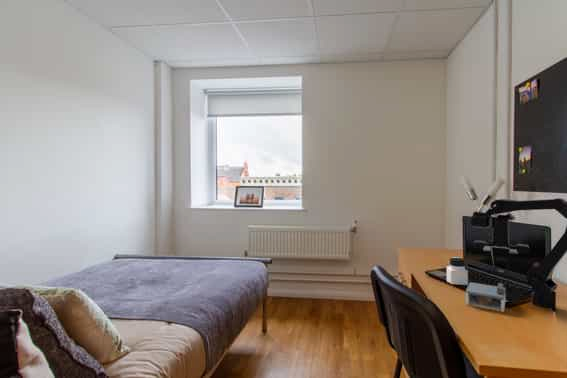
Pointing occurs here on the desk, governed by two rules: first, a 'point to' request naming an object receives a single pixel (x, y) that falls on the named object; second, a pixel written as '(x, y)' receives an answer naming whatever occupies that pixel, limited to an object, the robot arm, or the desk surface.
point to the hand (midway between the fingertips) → (500, 267)
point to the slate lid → (486, 290)
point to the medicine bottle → (457, 271)
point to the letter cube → (485, 300)
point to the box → (474, 301)
